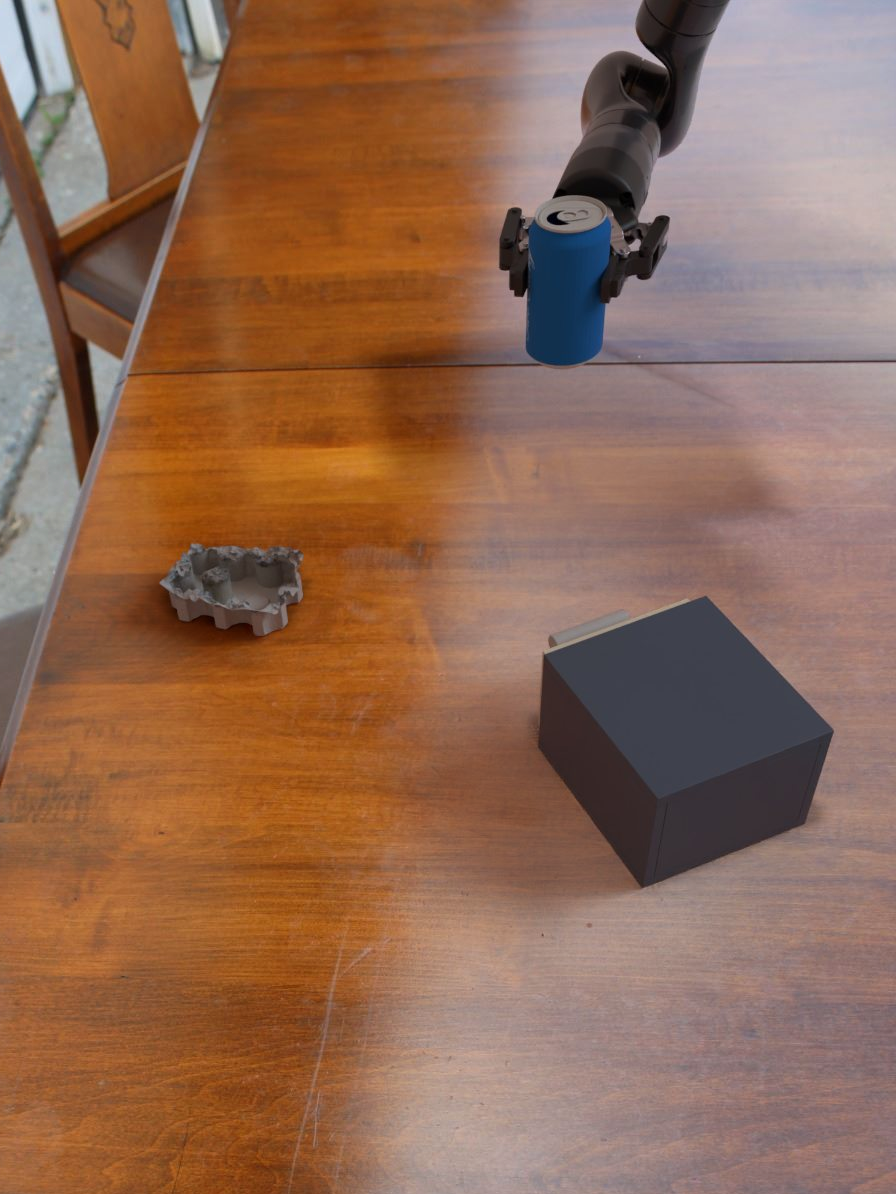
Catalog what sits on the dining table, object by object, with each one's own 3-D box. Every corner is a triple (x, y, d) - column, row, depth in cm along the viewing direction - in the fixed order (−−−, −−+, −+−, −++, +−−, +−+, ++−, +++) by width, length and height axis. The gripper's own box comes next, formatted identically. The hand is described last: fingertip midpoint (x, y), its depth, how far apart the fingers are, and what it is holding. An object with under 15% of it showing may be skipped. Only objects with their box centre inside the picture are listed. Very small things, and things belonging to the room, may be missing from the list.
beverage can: (519, 338, 116) (522, 199, 107) (593, 328, 116) (603, 187, 106) (532, 379, 112) (537, 238, 103) (608, 368, 112) (620, 226, 102)
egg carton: (314, 588, 111) (309, 548, 107) (275, 647, 107) (269, 607, 103) (201, 562, 114) (194, 523, 111) (160, 618, 110) (151, 579, 107)
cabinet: (537, 747, 97) (543, 654, 90) (688, 690, 99) (706, 594, 92) (642, 888, 89) (657, 799, 81) (805, 823, 90) (834, 730, 83)
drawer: (512, 691, 100) (515, 617, 94) (646, 642, 101) (657, 566, 96) (633, 853, 89) (645, 780, 84) (780, 795, 91) (801, 720, 85)
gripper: (523, 141, 115) (474, 238, 106) (692, 147, 111) (656, 249, 102) (521, 227, 121) (475, 326, 112) (681, 236, 117) (646, 340, 108)
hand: (561, 289), depth 107 cm, fingers closed on beverage can, 6 cm apart
